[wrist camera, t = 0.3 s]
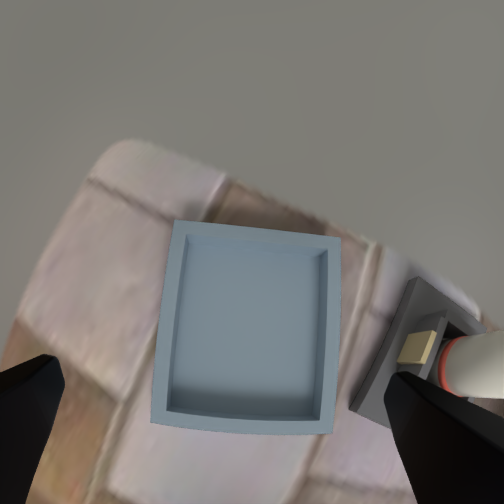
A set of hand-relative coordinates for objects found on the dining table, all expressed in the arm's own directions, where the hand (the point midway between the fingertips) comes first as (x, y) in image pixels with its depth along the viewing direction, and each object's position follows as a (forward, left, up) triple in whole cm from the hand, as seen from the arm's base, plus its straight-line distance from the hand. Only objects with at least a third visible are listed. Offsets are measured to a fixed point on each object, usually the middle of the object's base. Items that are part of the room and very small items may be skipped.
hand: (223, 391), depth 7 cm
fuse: (-10, -14, -13) cm, 21 cm away
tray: (+1, -3, -15) cm, 15 cm away
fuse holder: (-10, -14, -15) cm, 22 cm away
